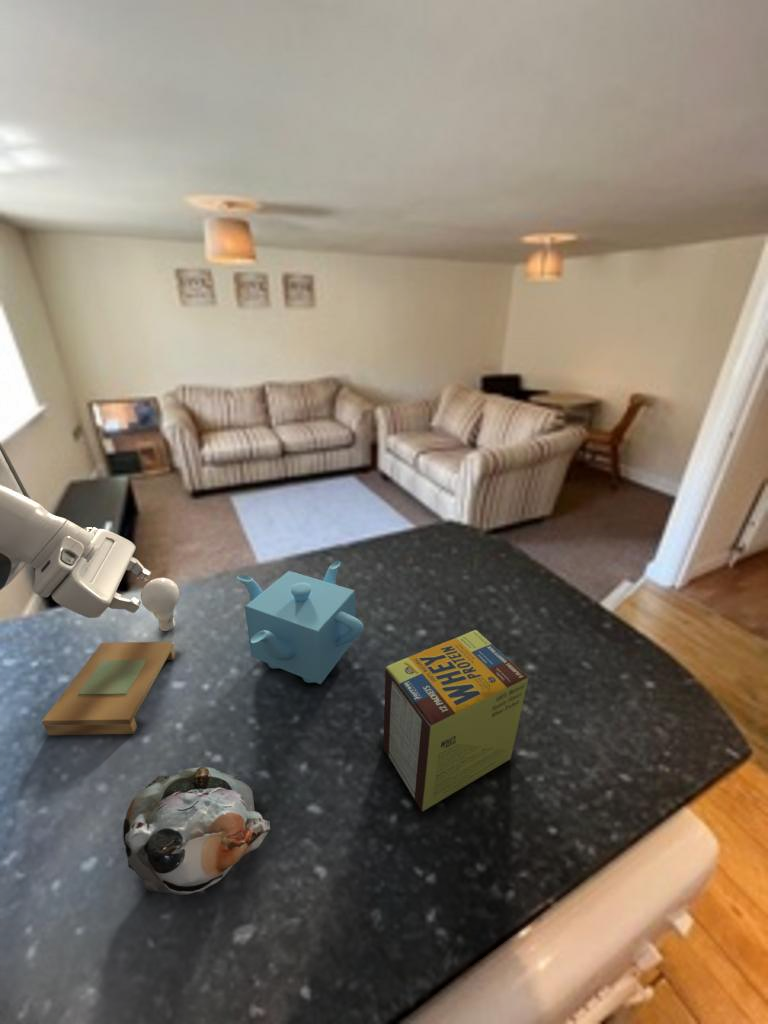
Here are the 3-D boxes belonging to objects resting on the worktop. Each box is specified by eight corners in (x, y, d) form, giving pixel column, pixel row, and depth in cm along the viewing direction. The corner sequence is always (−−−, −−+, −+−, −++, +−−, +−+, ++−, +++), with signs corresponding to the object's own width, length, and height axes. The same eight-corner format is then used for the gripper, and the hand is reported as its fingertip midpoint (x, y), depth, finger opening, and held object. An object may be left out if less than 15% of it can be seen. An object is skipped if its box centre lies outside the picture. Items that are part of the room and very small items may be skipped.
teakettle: (370, 679, 75) (371, 608, 69) (255, 710, 69) (245, 635, 63) (339, 613, 91) (338, 550, 85) (244, 632, 85) (235, 566, 79)
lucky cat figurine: (264, 776, 59) (284, 749, 50) (248, 895, 51) (268, 891, 42) (142, 769, 55) (138, 738, 46) (104, 898, 47) (89, 894, 38)
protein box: (512, 759, 63) (530, 676, 56) (421, 814, 56) (430, 727, 49) (465, 705, 71) (476, 627, 64) (380, 747, 64) (383, 665, 57)
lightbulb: (174, 642, 82) (162, 592, 77) (142, 637, 83) (129, 588, 78) (192, 620, 88) (183, 573, 83) (162, 616, 89) (152, 569, 84)
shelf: (48, 735, 64) (41, 719, 63) (106, 655, 79) (101, 641, 77) (133, 734, 65) (128, 718, 63) (175, 655, 79) (172, 640, 78)
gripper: (76, 535, 84) (144, 573, 90) (29, 600, 66) (118, 640, 72) (97, 512, 83) (164, 551, 89) (55, 570, 65) (142, 614, 72)
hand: (143, 592), depth 81 cm, fingers open, 8 cm apart
